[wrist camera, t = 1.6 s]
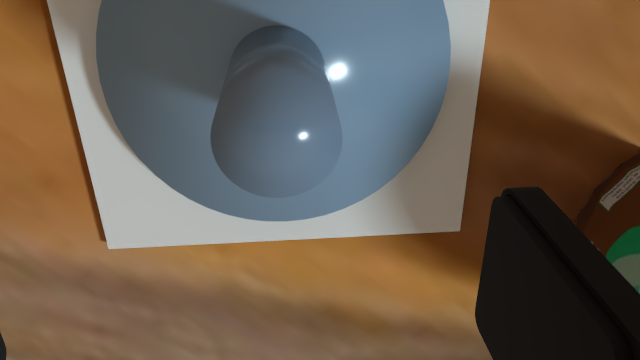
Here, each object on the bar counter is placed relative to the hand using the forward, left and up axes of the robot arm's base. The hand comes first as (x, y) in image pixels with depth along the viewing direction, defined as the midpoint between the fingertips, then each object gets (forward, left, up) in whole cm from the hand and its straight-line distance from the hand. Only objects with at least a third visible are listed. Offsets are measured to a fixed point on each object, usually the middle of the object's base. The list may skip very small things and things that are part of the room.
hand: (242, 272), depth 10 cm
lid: (-1, 0, -12) cm, 12 cm away
